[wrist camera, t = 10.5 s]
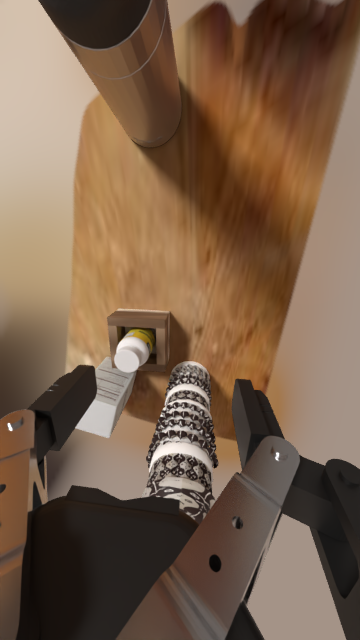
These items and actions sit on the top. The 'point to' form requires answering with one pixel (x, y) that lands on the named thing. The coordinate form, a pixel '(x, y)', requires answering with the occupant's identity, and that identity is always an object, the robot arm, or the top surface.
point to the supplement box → (107, 399)
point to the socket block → (153, 319)
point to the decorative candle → (184, 443)
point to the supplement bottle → (134, 349)
